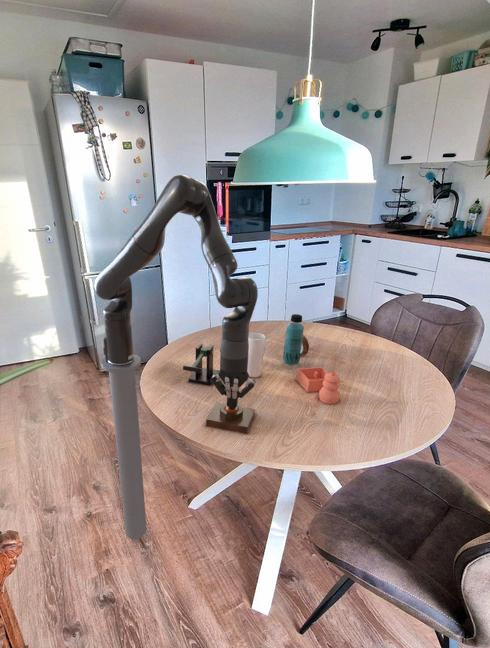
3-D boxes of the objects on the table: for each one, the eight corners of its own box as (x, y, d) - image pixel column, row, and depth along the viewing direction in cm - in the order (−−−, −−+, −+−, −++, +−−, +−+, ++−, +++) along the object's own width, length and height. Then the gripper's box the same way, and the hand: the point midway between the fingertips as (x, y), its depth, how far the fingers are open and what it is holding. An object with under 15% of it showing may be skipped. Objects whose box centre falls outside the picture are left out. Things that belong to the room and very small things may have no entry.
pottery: (296, 379, 137) (299, 354, 133) (320, 377, 140) (324, 352, 135) (319, 405, 122) (324, 378, 117) (346, 402, 124) (351, 375, 120)
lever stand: (210, 385, 131) (211, 354, 126) (188, 382, 133) (188, 350, 128) (219, 373, 140) (220, 343, 135) (198, 369, 142) (198, 340, 137)
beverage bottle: (279, 362, 150) (284, 313, 142) (294, 360, 152) (299, 311, 144) (287, 369, 144) (293, 318, 136) (302, 367, 147) (309, 317, 138)
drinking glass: (257, 369, 144) (260, 331, 137) (265, 377, 138) (269, 338, 132) (240, 371, 142) (243, 333, 135) (248, 380, 136) (251, 340, 129)
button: (223, 415, 110) (223, 410, 110) (227, 408, 114) (227, 403, 113) (235, 417, 110) (236, 412, 109) (238, 410, 113) (239, 405, 112)
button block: (206, 425, 110) (206, 414, 108) (216, 408, 118) (216, 396, 117) (247, 433, 107) (248, 421, 105) (254, 415, 116) (255, 403, 114)
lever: (200, 375, 122) (200, 368, 120) (182, 372, 123) (182, 365, 122) (214, 353, 133) (214, 347, 132) (197, 351, 135) (197, 345, 134)
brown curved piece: (308, 357, 155) (310, 338, 151) (301, 358, 154) (304, 339, 150) (289, 344, 167) (291, 325, 164) (282, 344, 166) (284, 326, 163)
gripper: (261, 350, 105) (257, 405, 113) (215, 344, 108) (213, 397, 116) (255, 361, 99) (251, 419, 106) (206, 354, 102) (205, 410, 109)
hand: (231, 407), depth 111 cm, fingers closed
